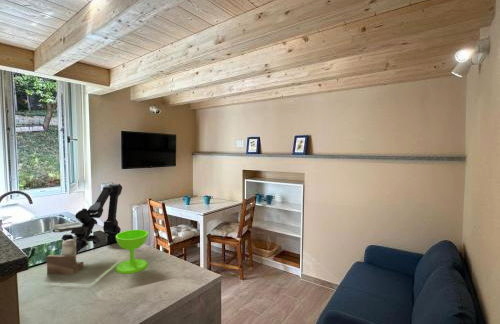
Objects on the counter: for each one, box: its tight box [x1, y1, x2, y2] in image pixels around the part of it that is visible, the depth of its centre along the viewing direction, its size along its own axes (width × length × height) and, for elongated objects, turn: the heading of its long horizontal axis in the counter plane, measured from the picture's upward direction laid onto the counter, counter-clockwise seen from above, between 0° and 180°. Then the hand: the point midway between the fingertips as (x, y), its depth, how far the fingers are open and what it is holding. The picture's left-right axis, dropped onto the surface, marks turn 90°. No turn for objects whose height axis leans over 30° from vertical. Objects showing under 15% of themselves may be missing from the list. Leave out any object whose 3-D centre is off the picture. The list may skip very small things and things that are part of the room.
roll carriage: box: [61, 239, 81, 266], centre depth 135 cm, size 9×9×14 cm
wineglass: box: [115, 229, 149, 275], centre depth 141 cm, size 16×16×18 cm
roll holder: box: [46, 254, 85, 276], centre depth 137 cm, size 19×14×10 cm
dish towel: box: [51, 221, 83, 233], centre depth 202 cm, size 19×18×3 cm
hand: (73, 254), depth 138 cm, fingers closed
